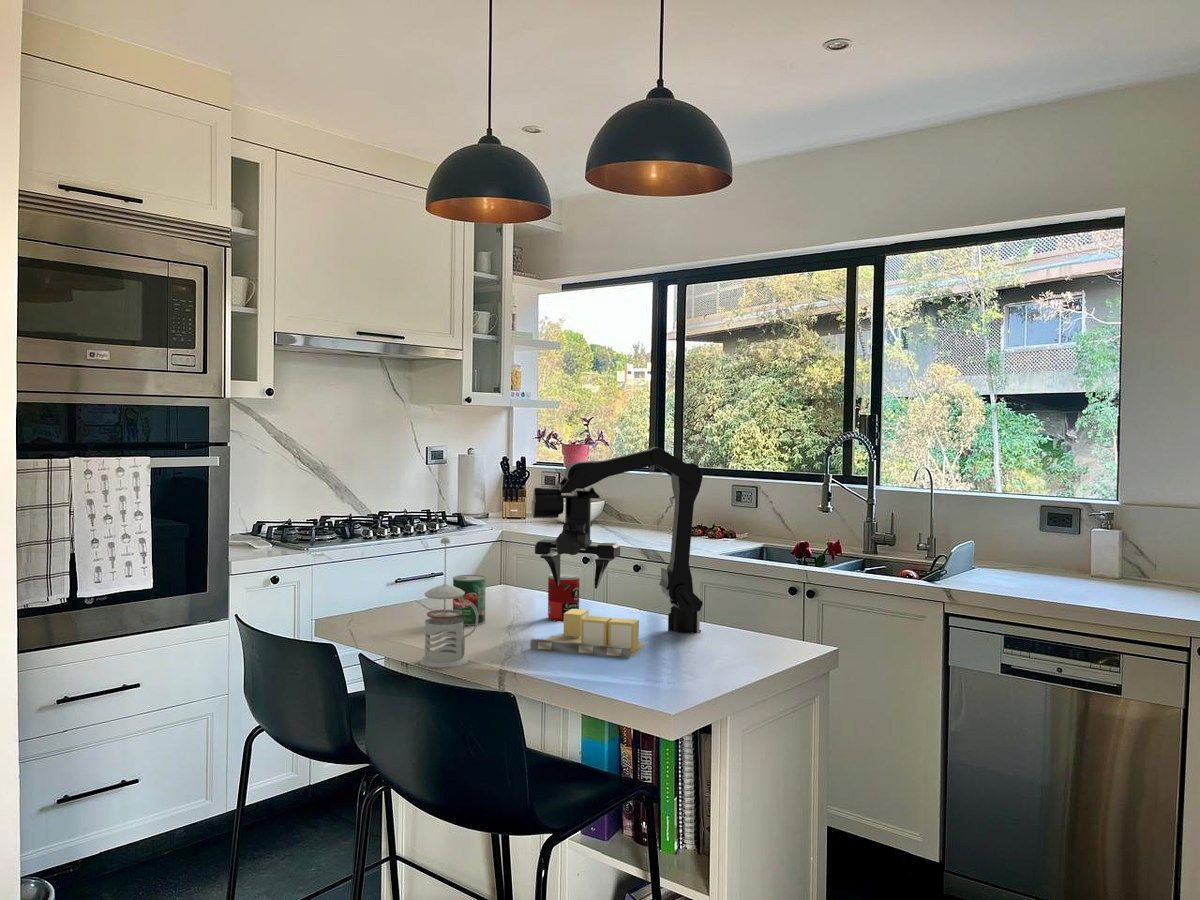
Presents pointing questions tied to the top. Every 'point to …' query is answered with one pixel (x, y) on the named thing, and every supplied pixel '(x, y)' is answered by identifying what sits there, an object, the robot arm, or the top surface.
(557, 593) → the canned food
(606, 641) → the tea box
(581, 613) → the tea box turned
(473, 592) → the canned tomato
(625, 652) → the shelf board
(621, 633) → the tea box
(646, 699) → the top surface
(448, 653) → the french press
